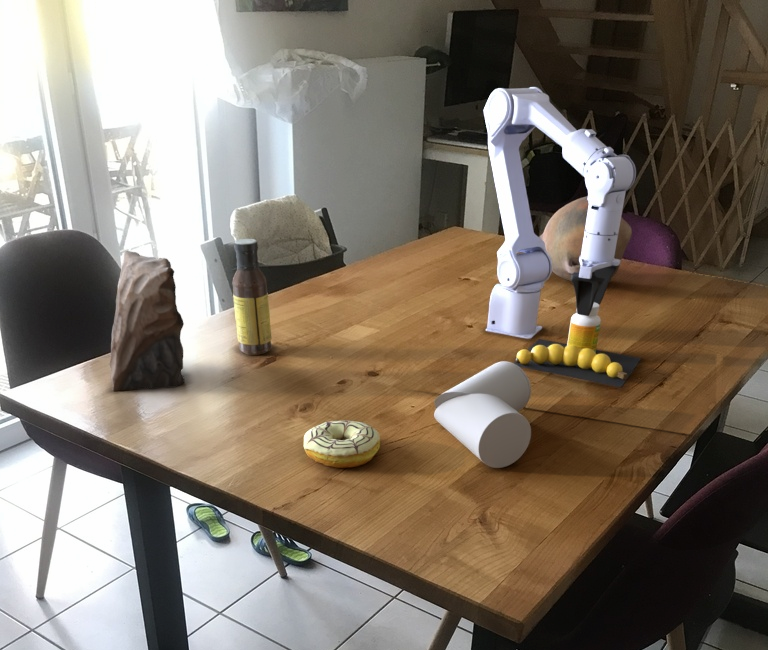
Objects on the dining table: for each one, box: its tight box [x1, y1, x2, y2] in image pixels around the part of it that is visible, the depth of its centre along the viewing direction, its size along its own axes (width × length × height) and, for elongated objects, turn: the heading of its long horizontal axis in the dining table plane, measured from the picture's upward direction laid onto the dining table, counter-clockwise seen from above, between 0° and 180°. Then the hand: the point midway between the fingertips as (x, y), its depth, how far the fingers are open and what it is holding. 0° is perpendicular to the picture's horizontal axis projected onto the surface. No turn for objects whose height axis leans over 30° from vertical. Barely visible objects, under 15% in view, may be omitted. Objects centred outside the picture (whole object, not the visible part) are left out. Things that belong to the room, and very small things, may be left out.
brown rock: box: [109, 250, 186, 392], centre depth 133 cm, size 13×13×20 cm
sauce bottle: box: [232, 238, 272, 356], centre depth 145 cm, size 6×6×20 cm
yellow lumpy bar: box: [514, 344, 627, 379], centre depth 144 cm, size 20×6×4 cm, turn 70°
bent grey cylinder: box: [433, 360, 532, 469], centre depth 120 cm, size 18×10×20 cm
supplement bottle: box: [566, 302, 602, 353], centre depth 149 cm, size 5×5×10 cm
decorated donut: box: [303, 420, 381, 469], centre depth 115 cm, size 10×11×4 cm
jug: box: [504, 195, 633, 282], centre depth 192 cm, size 20×20×30 cm
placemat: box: [513, 338, 642, 388], centre depth 149 cm, size 20×16×1 cm
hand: (588, 308), depth 147 cm, fingers open, 7 cm apart
